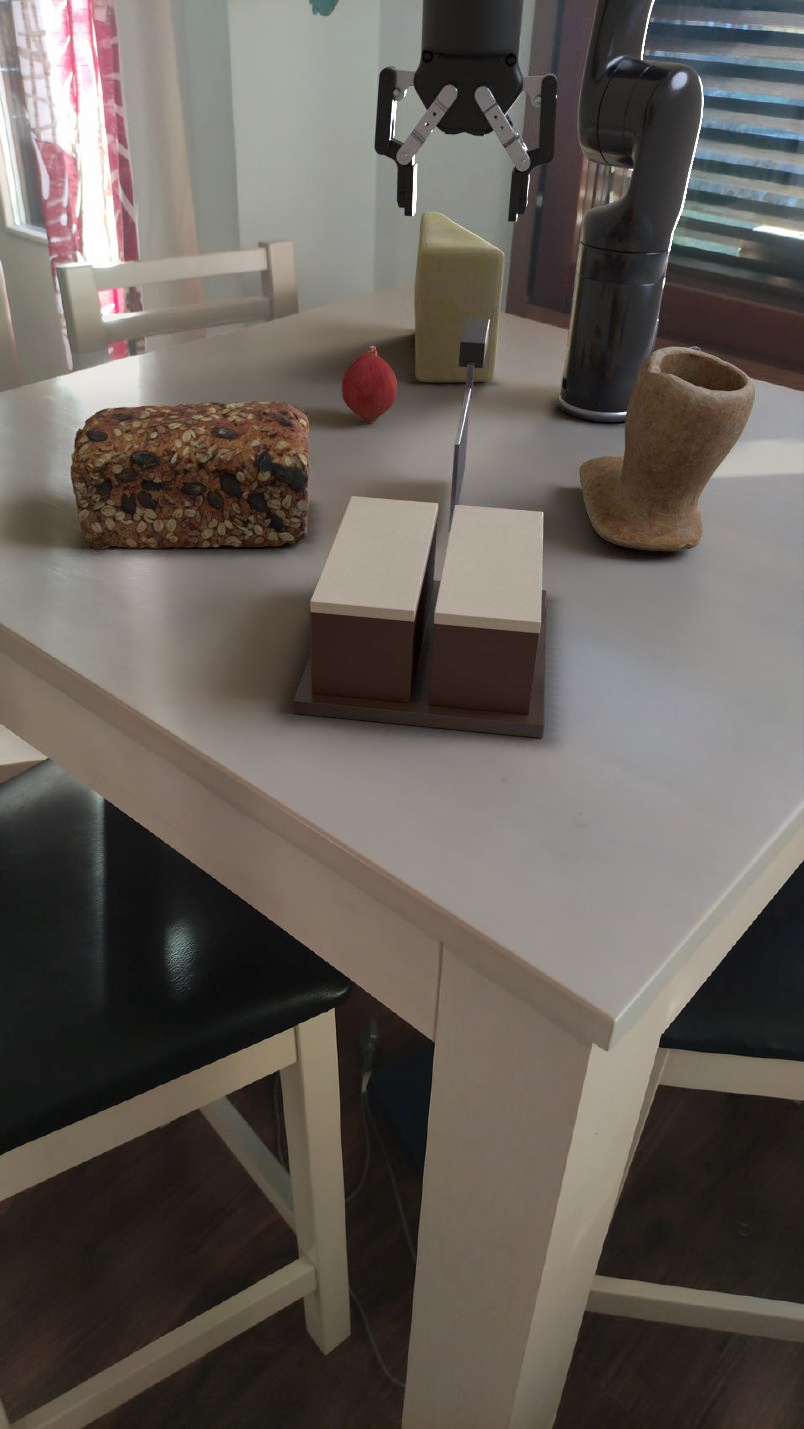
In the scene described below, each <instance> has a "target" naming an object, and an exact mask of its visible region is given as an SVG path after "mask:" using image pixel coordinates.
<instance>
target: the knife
mask: <svg viewBox="0 0 804 1429" xmlns="http://www.w3.org/2000/svg"><path fill="white" fill-rule="evenodd" d="M489 322H490V320H487V319H473V318H466V322H465V326H464V330H463V334H462V337H461V341H460V354H459V367H467V374H466V382H465V388H464V389H465V391H464V398H463V403H462V406H461V407H462V408H461V413H460V418H459V421H458V426H457V431H456V436H455V439H454V447H453V462H452V475H451V489H450V491H451V492H450V503H449V520H448V533H450V528H451V523H452V518H453V513H454V507H455V505H460V504H459V503H460V499H461V498H460V497H461V493H462V487H463V482H464V476H465V471H466V461H467V459H466V458H467V447H468V434H469V422H470V421H469V420H470V407H471V399H472V397H473V389H474V388H473V387H474V382H473V376H474V368H483V366H484V361H485V355H486V350H487V344H488V334H489Z"/></svg>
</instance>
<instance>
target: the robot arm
mask: <svg viewBox="0 0 804 1429" xmlns="http://www.w3.org/2000/svg"><path fill="white" fill-rule="evenodd" d="M524 2H525V0H422V13H421V14H422V15H421V17H422V18H421V41H420V42H421V43H420V44H421V45H420V46H421V48H420V59H419V64H418V66H417V69H416V70H407V69H398V68H396V67H395V66H393V65H388V66H385V67H384V68H382V69H381V71H380V72H379V74H378V87H377V101H376V115H375V116H376V117H375V131H374V133H375V134H374V145H373V146H374V151H375V152H376V154H378V155H380V156H385V157H386V158H389V159H391V160H393V161H394V163H395V164H396V167H397V174H396V175H397V177H396V203H397V206H398V208H399V209H403V210H404V211H403V215H404V217H414V215H415V214H416V208H417V207H416V206H417V182H418V178H417V177H418V162H415V159H416V158H415V156H416V155H417V154H418V152H419V151H420V149H421V148H422V147H423V145H424V144H425V143H426V141H427V140H428V138H429V137H430V136H431V134H432V133H433V131H434V130H435V129H436V128H437V129H438V130H439V131H440V132H442V133H444V135H452V136H455V135H459V134H463V133H465V134H468V135H471V136H474V137H486V135H489V134H491V133H492V132H494V133H495V135H496V137H497V138H498V140H499V142H500V144H501V146H502V147H503V148H504V150H505V151H506V153H507V155H508V157H509V158H510V160H511V161H512V163H513V165H514V167H512V170H511V179H510V190H509V191H510V192H509V204H508V215H507V222H509V223H510V222H511V223H517V221H518V215H524V213H525V212H526V210H527V207H528V206H527V205H528V198H529V197H528V196H529V186H530V174H531V171H532V170H533V169H535V167H538V166H541V165H544V164H549V163H551V162H552V161H553V159H554V158H555V146H556V145H555V142H556V123H557V102H558V101H557V100H558V83H559V82H558V77H557V75H556V74H555V73H553V72H547V73H546V74H545V75H536V76H535V75H530V76H524V75H523V74H522V71H521V66H520V55H521V54H520V53H521V42H522V41H521V39H522V28H523V16H524V4H525V3H524ZM654 3H655V0H596V4H595V10H594V15H593V19H592V20H593V21H592V26H591V31H590V36H589V41H588V46H587V50H586V51H587V52H586V58H585V63H584V67H583V73H582V79H581V84H580V90H579V95H578V96H579V97H578V105H577V123H576V124H577V138H578V143H579V146H580V149H581V152H582V154H583V155H584V157H585V158H586V159H587V160H589V161H590V162H592V163H594V164H597V165H603V166H608V167H613V168H618V169H625V170H629V171H630V170H631V175H630V178H629V183H628V187H627V189H626V192H625V193H624V194H623V196H621V197H620V198H619V199H616V200H615V201H613V202H609V203H606V204H601V205H597V206H594V207H592V208H590V209H588V210H587V211H586V212H585V213H584V215H583V217H582V222H581V227H580V234H579V244H578V252H577V258H576V259H577V260H576V269H575V276H574V284H573V293H572V301H571V308H570V309H571V310H570V316H569V324H568V330H567V331H568V333H567V340H566V348H565V356H564V364H563V371H562V376H561V377H560V378H561V379H560V383H561V385H560V392H559V395H558V396H559V398H558V403H557V404H558V407H559V409H560V410H561V411H563V412H564V413H566V414H568V415H570V416H573V417H575V418H578V419H583V420H585V421H586V420H587V421H592V422H600V423H601V422H602V423H623V422H625V419H626V412H627V408H628V404H629V401H630V397H631V394H632V390H633V387H634V384H635V381H636V377H637V374H638V371H639V368H640V366H641V364H642V363H643V362H644V360H645V359H646V358H647V357H648V356H649V355H650V354H651V353H653V352H655V347H656V342H657V336H658V330H659V324H660V323H659V316H660V311H661V303H662V298H663V294H664V286H665V283H666V282H665V281H666V274H667V270H668V269H667V268H668V263H669V257H670V252H671V246H672V240H673V235H674V231H675V229H676V226H677V224H678V221H679V219H680V216H681V214H682V211H683V208H684V203H685V199H686V194H687V188H688V183H689V179H690V174H691V171H692V170H691V169H692V167H693V166H692V165H693V161H694V157H695V153H696V148H697V144H698V139H699V134H700V131H701V125H702V118H703V108H704V92H703V85H702V81H701V78H700V76H699V74H698V72H697V71H696V70H695V69H694V67H692V66H690V65H689V64H688V65H687V64H684V63H680V62H673V61H661V60H652V59H643V54H644V46H645V41H646V35H647V29H648V25H649V20H650V17H651V13H652V9H653V6H654ZM410 87H413V89H414V90H415V92H416V94H417V96H418V97H419V100H420V101H421V103H422V104H423V106H424V109H425V110H426V111H425V113H424V114H423V116H422V117H421V118H420V120H419V121H418V122H417V124H416V125H415V126H414V128H413V130H412V131H411V132H410V134H409V135H408V137H406V140H405V141H404V142H403V141H401V140H399V139H396V138H395V126H396V114H397V113H396V112H397V102H400V101H402V100H403V99H404V98H405V97H406V94H407V91H408V89H409V88H410ZM523 92H525V93H527V95H528V96H529V99H530V103H531V106H532V107H534V108H536V109H540V111H539V135H538V145H536V146H533V147H529V148H528V147H527V146H526V144H525V142H524V141H523V139H522V137H521V135H520V133H519V131H518V129H517V127H516V125H515V123H514V122H513V120H512V118H511V116H510V114H509V113H508V112H509V111H510V110H511V109H512V107H513V106H514V104H515V103H516V101H517V100H518V99H519V97H520V96H521V95H522V93H523ZM689 348H690V349H694V350H698V351H701V352H703V351H702V350H701V348H700V347H698V346H691V347H689Z"/></svg>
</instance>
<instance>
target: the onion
mask: <svg viewBox="0 0 804 1429" xmlns="http://www.w3.org/2000/svg"><path fill="white" fill-rule="evenodd" d="M377 351H378V350H377V348H376V346H375V345H370V346H368V349H366V350H365V351H364V352H363V353H362V354H360V355H359V356H357V358H355V359H354V360H353V361H352V362H351V363H350V364H349V365H348V366H347V368H346V369H345V371H344V374H343V376H342V380H341V395H342V400H343V401H344V403H345V405H346V407H348V409H349V410H350V411H352V412H353V413H354V414H355V415H356V416H357V417H359V418H360V419H361V420H363V421H364V422H365V423H367V424H368V423H369V424H373V423H375V422H376V421H377V420H378V419H379V418H380V417H381V416H383V415H384V414H386V413H387V411H389V410H390V409H391V408H392V407H393V405H394V403H395V402H396V400H397V394H398V389H399V388H398V379H397V376H396V373H395V372H394V369H392V367H391V365H389V363H388V362H387V361H386V359H383V358H382V357H381V356H379V355H378V352H377Z"/></svg>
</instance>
